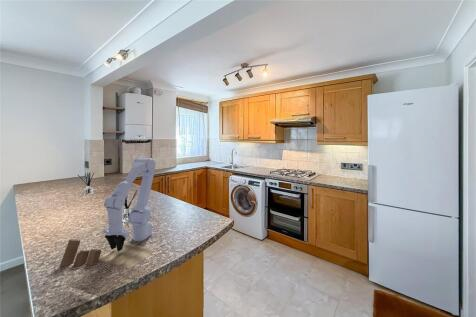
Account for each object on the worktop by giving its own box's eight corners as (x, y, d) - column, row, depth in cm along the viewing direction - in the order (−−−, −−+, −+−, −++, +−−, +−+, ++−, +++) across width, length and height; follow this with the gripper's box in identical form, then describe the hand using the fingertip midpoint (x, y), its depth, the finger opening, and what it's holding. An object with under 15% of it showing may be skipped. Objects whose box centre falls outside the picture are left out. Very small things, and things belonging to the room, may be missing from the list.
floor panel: (137, 247, 106) (137, 245, 106) (156, 252, 101) (156, 250, 101) (107, 265, 91) (107, 262, 91) (128, 272, 87) (128, 269, 86)
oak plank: (126, 244, 108) (126, 242, 108) (137, 247, 106) (137, 245, 106) (95, 261, 94) (95, 258, 93) (107, 265, 91) (106, 262, 91)
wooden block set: (99, 268, 93) (107, 243, 96) (81, 272, 85) (90, 244, 88) (68, 260, 98) (77, 236, 101) (48, 263, 90) (58, 237, 93)
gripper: (96, 222, 97) (97, 250, 99) (119, 226, 92) (120, 256, 93) (110, 216, 104) (111, 243, 105) (132, 221, 99) (133, 249, 100)
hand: (116, 249), depth 100 cm, fingers open, 4 cm apart
